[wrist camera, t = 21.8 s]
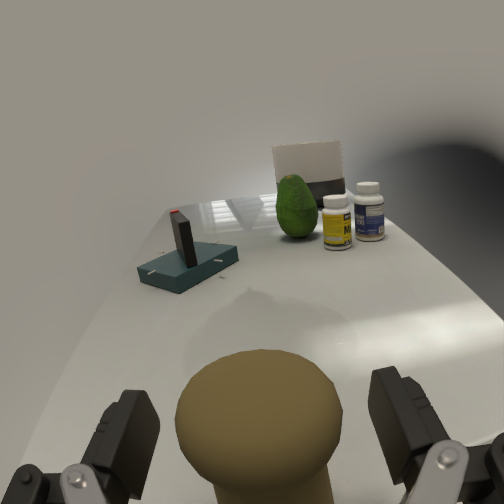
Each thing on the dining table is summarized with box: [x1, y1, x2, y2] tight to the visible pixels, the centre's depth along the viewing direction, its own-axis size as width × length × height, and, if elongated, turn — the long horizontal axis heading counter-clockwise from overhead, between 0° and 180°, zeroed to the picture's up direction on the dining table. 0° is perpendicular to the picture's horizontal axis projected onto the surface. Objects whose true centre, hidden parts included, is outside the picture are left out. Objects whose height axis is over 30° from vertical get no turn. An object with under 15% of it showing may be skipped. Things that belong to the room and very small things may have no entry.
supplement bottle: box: [322, 195, 352, 250], centre depth 49 cm, size 5×5×8 cm
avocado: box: [276, 174, 318, 237], centre depth 56 cm, size 8×8×12 cm
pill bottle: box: [354, 182, 384, 241], centre depth 50 cm, size 5×5×10 cm
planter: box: [272, 140, 346, 207], centre depth 83 cm, size 19×19×18 cm
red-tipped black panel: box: [170, 209, 198, 268], centre depth 46 cm, size 11×2×7 cm, turn 21°
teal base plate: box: [137, 241, 239, 294], centre depth 48 cm, size 15×15×3 cm
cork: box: [175, 349, 343, 504], centre depth 10 cm, size 6×6×11 cm
